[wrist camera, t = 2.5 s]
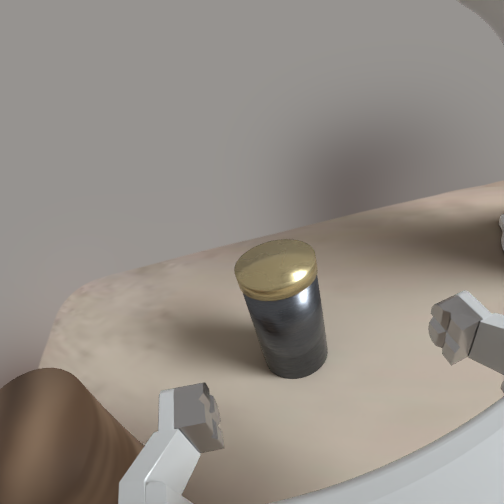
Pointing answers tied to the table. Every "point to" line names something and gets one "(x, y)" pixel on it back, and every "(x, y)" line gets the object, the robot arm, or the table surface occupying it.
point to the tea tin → (285, 305)
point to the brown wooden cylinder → (59, 443)
